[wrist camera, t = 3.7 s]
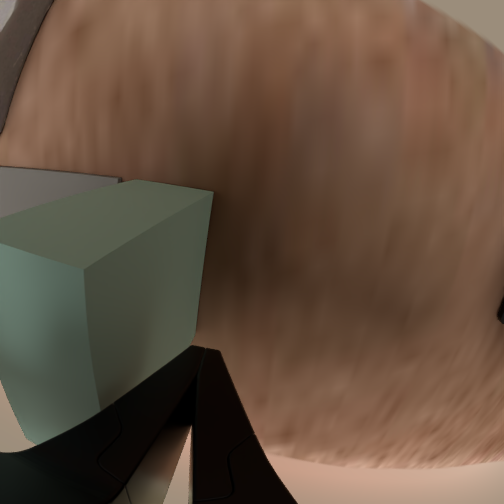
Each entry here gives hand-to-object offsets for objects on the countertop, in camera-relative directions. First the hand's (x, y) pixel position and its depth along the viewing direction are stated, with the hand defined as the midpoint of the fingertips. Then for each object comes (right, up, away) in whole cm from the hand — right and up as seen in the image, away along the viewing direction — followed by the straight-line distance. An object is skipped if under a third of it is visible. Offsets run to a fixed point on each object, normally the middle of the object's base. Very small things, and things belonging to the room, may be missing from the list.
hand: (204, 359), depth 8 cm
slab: (-3, +3, +6) cm, 7 cm away
